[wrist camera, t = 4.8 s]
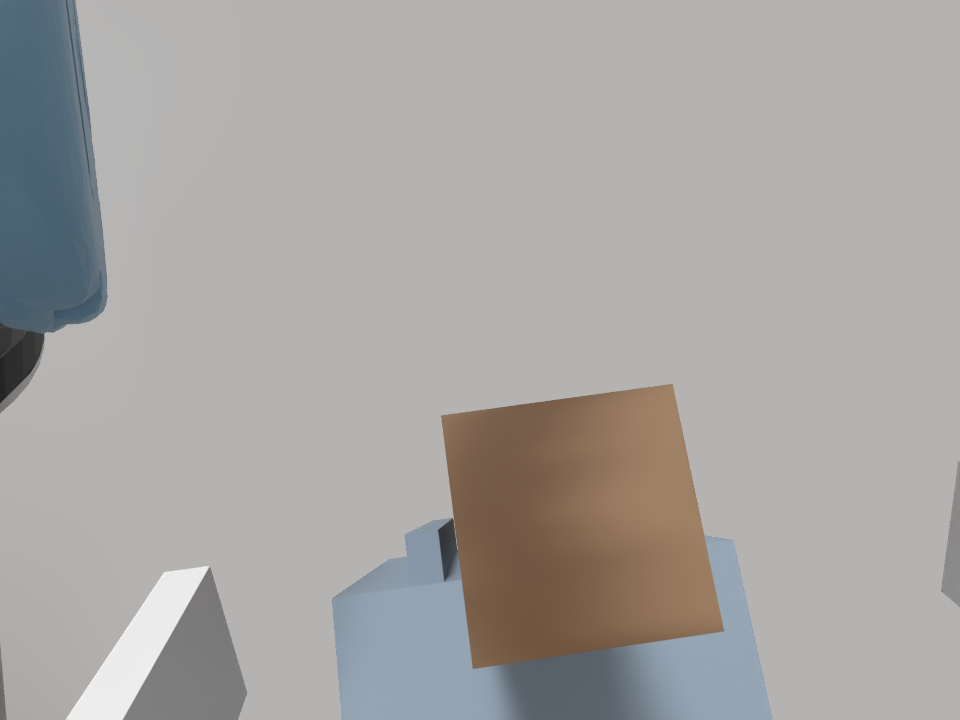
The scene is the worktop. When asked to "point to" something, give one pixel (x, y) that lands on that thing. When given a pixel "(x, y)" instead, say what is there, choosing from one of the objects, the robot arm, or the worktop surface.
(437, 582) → the tall blue prism
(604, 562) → the brown block
